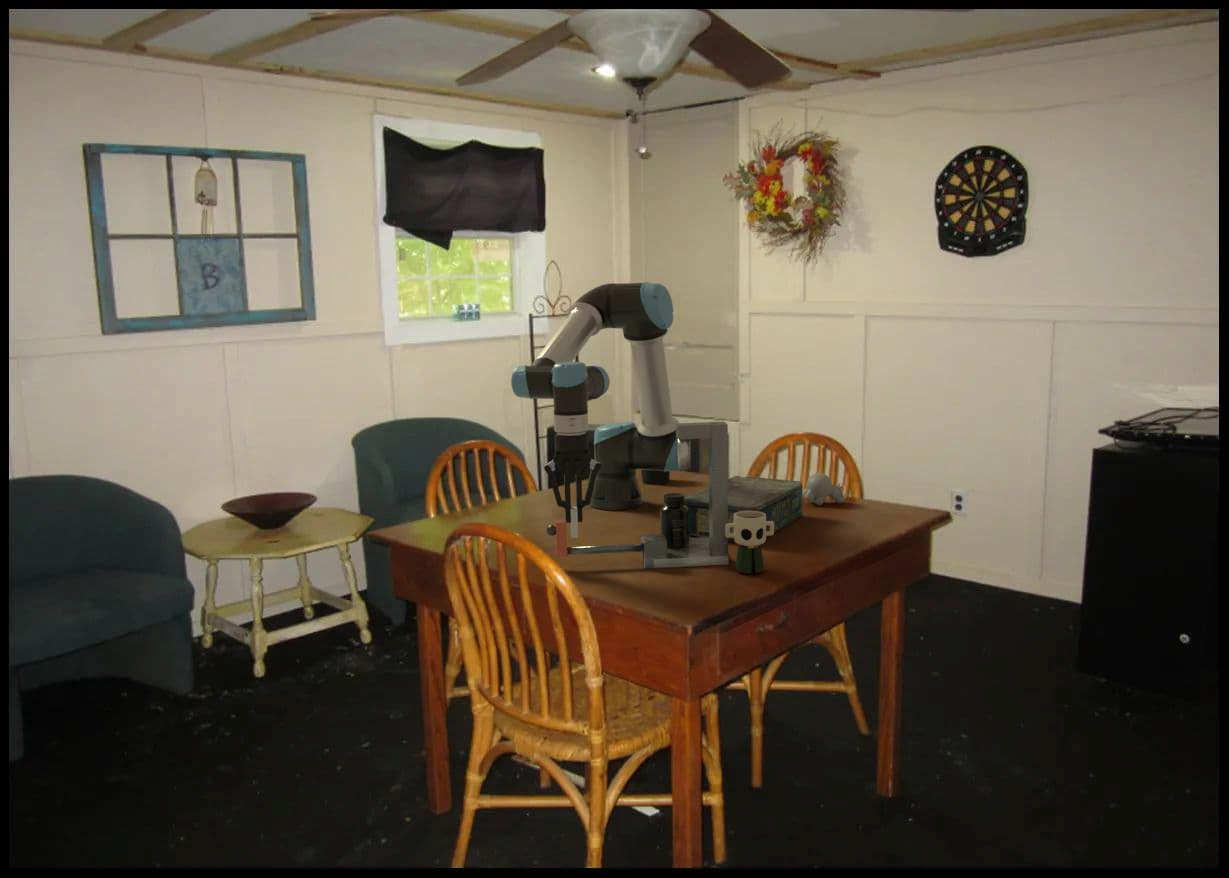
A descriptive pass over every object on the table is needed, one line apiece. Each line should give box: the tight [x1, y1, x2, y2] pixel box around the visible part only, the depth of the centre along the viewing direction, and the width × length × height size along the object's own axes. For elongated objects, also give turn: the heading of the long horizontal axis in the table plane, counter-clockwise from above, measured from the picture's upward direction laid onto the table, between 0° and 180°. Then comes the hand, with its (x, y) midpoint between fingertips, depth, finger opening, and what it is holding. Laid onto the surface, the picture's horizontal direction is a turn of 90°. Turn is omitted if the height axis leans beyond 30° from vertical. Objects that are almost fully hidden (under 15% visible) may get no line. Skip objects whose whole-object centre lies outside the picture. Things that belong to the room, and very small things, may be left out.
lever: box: [545, 519, 644, 558], centre depth 224 cm, size 3×24×8 cm, turn 95°
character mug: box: [725, 511, 775, 574], centre depth 218 cm, size 11×7×13 cm, turn 98°
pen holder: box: [640, 470, 671, 485], centre depth 311 cm, size 9×9×10 cm
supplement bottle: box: [659, 492, 690, 548], centre depth 234 cm, size 7×7×12 cm
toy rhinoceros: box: [802, 472, 848, 506], centre depth 279 cm, size 7×12×8 cm, turn 90°
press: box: [640, 421, 729, 569], centre depth 229 cm, size 16×19×32 cm
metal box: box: [684, 475, 804, 543], centre depth 257 cm, size 21×32×10 cm, turn 148°
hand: (574, 536), depth 224 cm, fingers closed
